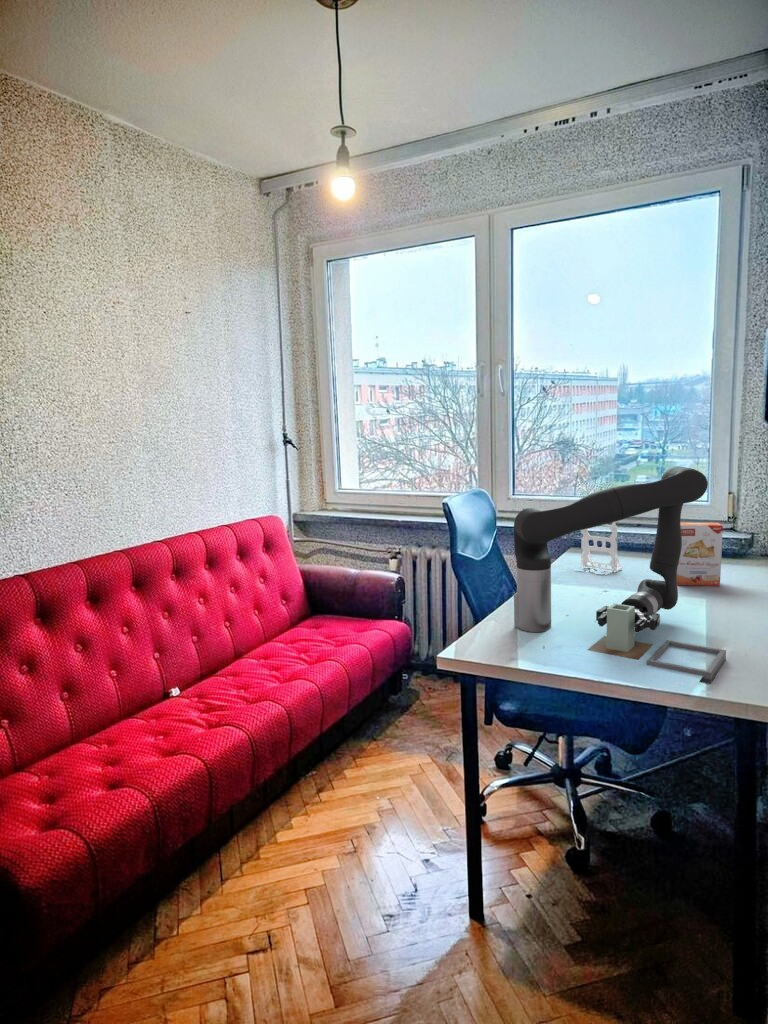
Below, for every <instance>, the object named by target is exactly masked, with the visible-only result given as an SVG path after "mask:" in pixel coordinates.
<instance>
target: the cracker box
mask: <svg viewBox="0 0 768 1024" xmlns="http://www.w3.org/2000/svg"><path fill="white" fill-rule="evenodd" d="M680 525H681V536H682V548H681V554H680V559H679V563H678V568H677V586H700V585H701V586H702V587H703V586H704V587H706V586H710V587H720V586H721V571H722V570H721V569H722V553H723V552H722V550H723V527H724V526H723V524H720V523H719V522H680Z"/></svg>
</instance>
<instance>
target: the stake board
mask: <svg viewBox="0 0 768 1024" xmlns="http://www.w3.org/2000/svg"><path fill="white" fill-rule="evenodd" d="M652 646H654V644H653V643H648V642H647V643H646V642H640V641H637V640H634V647H633V648H632V649H631V650H629V651H628V652H624V651H619V650H613V649H608V648H607V635H604V636H603V637H601V638H600V639H599V640H598V641H596V642H595V643H594V644H593V645H591V646H590V647H589V648H587V651H591V652H595V653H600V654H605V655H606V654H607V655H611V656H617V657H621V658H627V659H631V660H640V659H641V658H642V657H643V656H644V655H645V654H646V653H647V652H648V651H649V650H650V649H651V647H652Z"/></svg>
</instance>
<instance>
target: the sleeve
mask: <svg viewBox="0 0 768 1024" xmlns="http://www.w3.org/2000/svg"><path fill="white" fill-rule="evenodd" d="M606 636H607V648H608V649H613V650H619V651H624V652H628V651H629V650H631V649H632V648H633V647H634V641H635V606H628V605H621V603H613V604H611V605H610V606H609V607H608V608H607V624H606Z"/></svg>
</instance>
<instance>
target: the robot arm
mask: <svg viewBox="0 0 768 1024" xmlns="http://www.w3.org/2000/svg"><path fill="white" fill-rule="evenodd" d="M708 487H709V482H708V479H707V476H705V474H704V473H703V472H702V471H700V470H697V469H695V468H691V467H685V466H679V465H678V466H672V467H669V468H668V469H667V470H665V471H664V472H663V475H662V476H661V478H660V479H659V480H656V481H652V482H643V483H633V484H623V485H617V486H611V487H609V488H604V489H600V490H598V491H594V492H592V493H590V494H587V495H585V496H583V497H582V498H581V497H580V498H579V499H578V500H575V502H573V503H571V504H567V505H565V506H562V507H558V508H552V509H548V510H540V509H538V508H534V507H528V508H525V509H522V510H521V511H519V512H518V513H517V515H516V516H515V518H514V522H513V545H514V547H513V548H514V557H515V561H516V562H515V563H516V592H515V593H514V594H513V609H514V610H513V611H514V612H513V615H514V617H513V618H514V619H513V620H514V622H513V623H514V627H515V628H516V629H519V630H521V631H524V632H529V633H530V632H531V633H540V632H542V633H543V632H546V631H547V632H548V631H549V630H551V628H552V559H551V556H550V552H549V548H548V542H551V541H553V540H555V539H558V538H561V537H563V536H566V535H568V534H572V533H574V532H577V531H581V530H583V529H587V530H588V529H592V528H596V527H600V525H606V524H607V525H610V524H612V522H618V521H622V520H623V521H624V520H625V519H628V518H631V517H635V516H638V515H642V514H645V513H648V512H651V511H654V510H658V517H657V525H656V526H657V527H656V533H655V539H654V545H653V548H652V553H651V557H650V561H649V562H650V563H649V569H650V571H651V572H652V573H655V574H656V575H659V576H661V577H662V578H663V581H665V583H662V582H659V581H660V580H659V581H655V580H656V579H651V578H647V579H646V578H645V579H643V580H642V581H640V583H639V584H638V587H637V591H636V592H635V593H632V594H631V595H630V596H628V597H627V598H626V599H625V600H623V601H622V602H621V603H620V604H621V605H628V606H635V630H634V633H637V634H638V633H640V632H643V631H644V630H647V628H648V629H649V630H651V631H655V630H657V629H658V627H659V626H660V624H661V623H660V622H661V614H660V613H658V612H659V611H660V610H661V609H663V610H672V609H673V608H674V607H676V604H677V603H678V600H679V591H678V590H679V589H678V585H677V568H678V563H679V559H680V554H681V548H682V536H681V525H680V523H681V517H682V515H681V514H682V511H683V510H682V509H683V506H684V504H690V503H693V502H696V501H698V500H699V499H701V498H702V497H703V496H704V494H705V493H706V492H707V489H708ZM608 607H610V606H608V605H604V606H602V607H601V608H599V609H597V610H596V613H595V614H596V615H595V618H596V619H595V621H597V625H598V626H599V627H604V626H605V625H607V608H608Z"/></svg>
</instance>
